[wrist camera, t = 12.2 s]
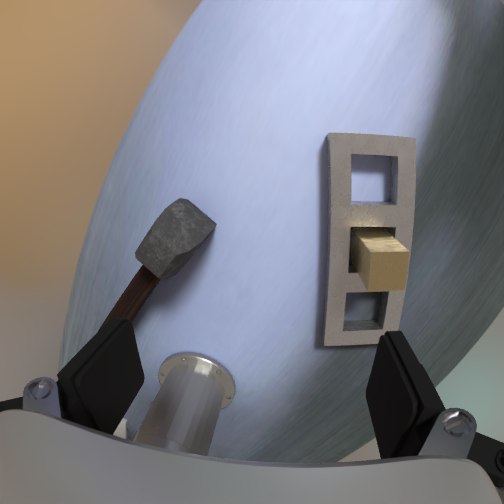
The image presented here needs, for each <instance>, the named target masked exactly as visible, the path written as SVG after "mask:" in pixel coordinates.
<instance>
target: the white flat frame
mask: <svg viewBox="0 0 504 504" xmlns="http://www.w3.org/2000/svg"><path fill="white" fill-rule="evenodd" d="M327 153H328V242H327V271H326V291H325V307H324V321H323V334H322V336H323V343H324V346H340V345H362V344H378V342H379V338H380V336H381V335H384V334H385V332H386V331H398V328H399V323H400V318H401V313H402V307H403V302H404V296H405V290H406V286H405V290H396V291H376V292H382V299H381V306H380V313H379V319H378V320H362V321H344V313H345V303H346V293H348V292H368V291H367V289H366V287H365V286H364V284H363V282H362V280H361V278H360V276H359V274H358V272H357V270H356V269H355V267H354V265H349V249H350V227H389V234H390V235H392V236H393V237H394V238H395V239H396V240H397V241H398V242H400V243H401V244H402V245H403V246H404V247H405V248H406V249H408V250H409V251H410V253H409V262H410V254H411V245H412V234H413V223H414V208H415V185H416V138H409V137H399V136H387V135H373V134H354V133H328V134H327ZM351 154H362V155H382V156H391V198H390V202H379V201H351ZM408 270H409V263H408ZM407 277H408V271H407ZM406 284H407V279H406Z"/></svg>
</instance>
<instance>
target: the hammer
mask: <svg viewBox="0 0 504 504" xmlns="http://www.w3.org/2000/svg"><path fill="white" fill-rule="evenodd" d="M215 227H216V223H215V222H214V221H213V220H211V219H210V218H209V217H208V216H207V215H206V214H204V213H203V212H202V211H201V210H200V209H199V208H197V207H196V206H195V205H194V204H193V203H192V202H190V201H189V200H187V199H182V198H180V199H178V200H176V201H175V202H173V203H172V204H171V205H169V206H168V207H167V208H166V209H165V210H164V211H163V212H162V213H161V215H160V216H159V217H158V218H157V220H156V221H155V222H154V224H153V225H152V227H151V228H150V230H149V231H148V233H147V235H146V236H145V238H144V239H143V241H142V242H141V244H140V246H139V247H138V249H137V250H136V252H135V255H136V259H137V260H138V261H140V262H141V263H142V264H143V265H142V267H141V268H140V269H139V271H138V272H137V274H136V275H135V277H134V278H133V279H132V281H131V282H130V284H129V285H128V287H127V288H126V290H125V291H124V293H123V294H122V295H121V297H120V298H119V300H118V301H117V303H116V304H115V306H114V307H113V309H112V311H111V312H110V314H109V315H108V317H107V318H106V320H105V321H104V323H103V324H102V326H101V328H102V327H103V326H104V325H105V324H106V323H107V322H108V321H109V320H110V319H111V318H113V317H118V318H125V319H127V320H128V321H129V323H131V322H132V320H133V319H134V317H135V316H136V314H137V313H138V311H139V310H140V308H141V307H142V306H143V304H144V303H145V301H146V300H147V298H148V297H149V295H150V294H151V293H152V291H153V290H154V288H155V287H156V285H157V284H158V283H159V281H160V280H161V279H168V278H170V277H172V276H173V275H175V274H176V273H177V272H178V271H179V270H180V269H181V268H182V267H183V265H184V264H185V263H186V262H187V261H188V260H189V259H190V257H191V256H192V255H193V254H194V253H195V251H196V250H197V249H198V248H199V247H200V245H201V244H202V243H203V242H204V240H205V239H206V238H207V237H208V236H209V234H210V233H211V232H212V231H213V230H214V228H215ZM101 328H100V329H101ZM100 329H99V330H100ZM98 332H99V331H98ZM98 332H97V333H98Z"/></svg>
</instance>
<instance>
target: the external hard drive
mask: <svg viewBox="0 0 504 504" xmlns="http://www.w3.org/2000/svg"><path fill="white" fill-rule="evenodd" d="M113 435H115V436H118V437H121V438H124V439H127V420H126V419H124V418H122V420H121V422H120V424H119V425H118V427H117V429H116V430H115V432H114V434H113Z"/></svg>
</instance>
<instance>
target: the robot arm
mask: <svg viewBox="0 0 504 504" xmlns="http://www.w3.org/2000/svg"><path fill="white" fill-rule="evenodd" d="M57 376H58V378H59V380H58V381H57V382H55V381H54V380H53V379H51V378H48V377H40V378H36V379H34V380H32V381H30V382H29V383H28V384H27V385H26V386H25V388H24V391H23V397H19V398H15V399H11V400H6V401H2V402H0V504H504V443H502V442H500V441H497V440H495V439H492V438H490V437H487V436H485V435H482V434H480V433H477V432H476V428H477V424H476V420H475V418H474V417H473V416H472V415H471V414H470V413H469V412H468V411H466V410H464V409H460V408H449V409H445V407H444V405H443V403H442V401H441V399H440V397H439V395H438V393H437V391H436V389H435V387H434V385H433V384H432V382H431V380H430V378H429V376H428V374H427V372H426V371H425V369H424V367H423V366H422V364H420V363H419V361H418V359H417V357H416V356H415V354H414V352H413V350H412V349H411V347H410V345H409V343H408V342H407V340H406V338H405V336H404V335H403V333H402V332H401V331H386V332H385V334H384V335H381V336H380V338H379V342H378V347H377V351H376V355H375V359H374V363H373V367H372V371H371V374H370V378H369V382H368V385H367V389H366V400H367V404H368V407H369V411H370V415H371V419H372V423H373V427H374V431H375V435H376V440H377V444H378V448H379V452H380V457H381V459H377V460H367V461H355V462H336V463H272V462H256V461H243V460H233V459H224V458H217V457H209V456H207V455H208V451H209V448H210V444H211V440H212V437H213V433H214V430H215V426H216V423H217V419H218V415H219V412H220V409H223V408H225V407H226V406H228V405H229V404H230V403H231V402H232V400H233V398H234V395H235V382H234V379H233V377H232V375H231V374H230V373H229V371H228V370H227V369H226V368H225V367H224V366H223V365H221V364H220V363H219V362H217V361H216V360H214V359H212V358H210V357H208V356H205V355H202V354H198V353H191V352H182V353H177V354H173V355H171V356H169V357H168V358H167V359H166V360H165V361H164V362H163V363H162V365H161V367H160V369H159V375H158V376H159V381H160V384H161V388H160V390H159V392H158V394H157V396H156V398H155V400H154V401H153V402H151V403H150V409H149V411H148V413H147V415H146V417H145V419H144V421H143V423H142V425H141V427H140V429H139V431H138V433H137V434H136V436H135V438H134V440H133V441H131V440H128V439H124V438H121V437H117V436H114V435H113V434H114V432H115V430H116V429H117V427H118V425H119V424H120V422H121V420H122V418H123V417H124V415H125V413H126V412H127V410H128V408H129V407H130V405H131V403H132V402H133V400H134V398H135V397H136V395H137V393H138V392H139V390H140V388H141V387H142V385H143V383H144V373H143V369H142V365H141V361H140V357H139V352H138V348H137V344H136V339H135V335H134V330H133V326H132V324H131V323H129V321H128V320H127V319H125V318H118V317H113V318H111V319H110V320H109V321H108V322H107V323H106V324H105V325H104V326H103V327H102V328H101V329H100V330H99V332H98V333H97V334H96V335H95V336H94V337H93V338H92V339H91V340H90V341H89V342H88V343H87V344H86V345H85V346H84V347H83V348H82V349H81V350H80V351H79V352H78V353H77V354H76V355H75V356H74V357H73V358H72V359H71V360H70V361H69V362H68V363H67V365H66V366H65V367H64V368H63V369H62V370H61V371H60V372H59V373H58V374H57Z"/></svg>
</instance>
